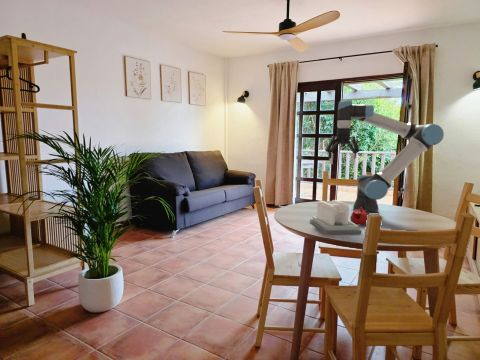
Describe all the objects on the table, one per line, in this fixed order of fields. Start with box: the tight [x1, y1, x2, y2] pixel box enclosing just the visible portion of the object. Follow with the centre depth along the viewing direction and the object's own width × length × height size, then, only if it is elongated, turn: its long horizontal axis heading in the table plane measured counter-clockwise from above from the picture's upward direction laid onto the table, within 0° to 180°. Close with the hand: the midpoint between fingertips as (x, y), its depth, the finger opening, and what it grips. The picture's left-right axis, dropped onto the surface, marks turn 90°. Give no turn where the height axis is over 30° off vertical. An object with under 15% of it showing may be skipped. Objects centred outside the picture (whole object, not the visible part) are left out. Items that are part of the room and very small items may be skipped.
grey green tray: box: [309, 215, 362, 235], centre depth 158 cm, size 18×22×4 cm
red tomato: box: [349, 207, 369, 226], centre depth 166 cm, size 10×10×9 cm
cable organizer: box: [316, 199, 350, 226], centre depth 158 cm, size 15×11×12 cm
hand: (341, 164), depth 184 cm, fingers open, 13 cm apart
